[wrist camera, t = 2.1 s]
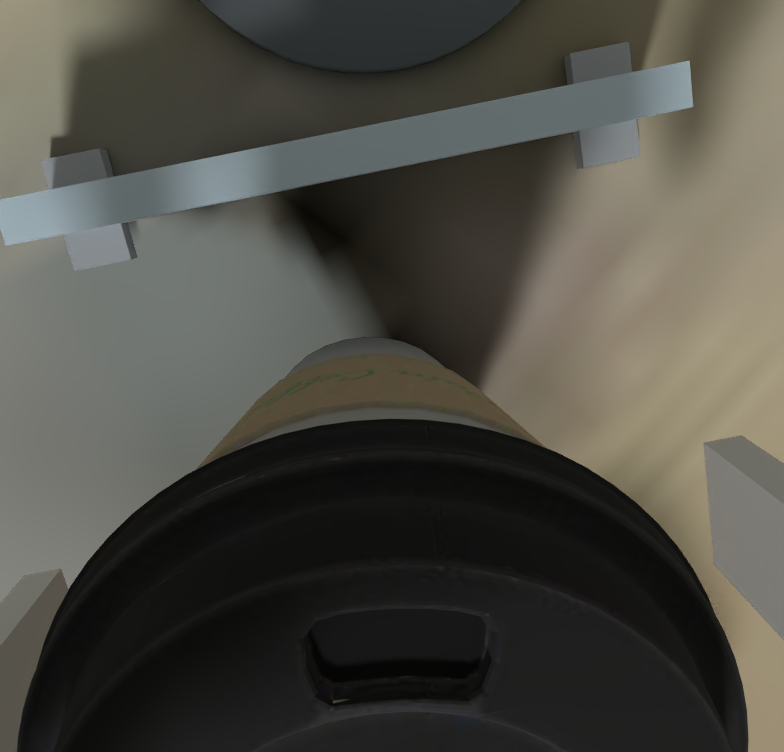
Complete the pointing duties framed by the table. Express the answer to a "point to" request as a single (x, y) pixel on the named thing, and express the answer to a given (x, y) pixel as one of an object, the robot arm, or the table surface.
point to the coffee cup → (385, 592)
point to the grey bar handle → (346, 154)
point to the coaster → (361, 29)
